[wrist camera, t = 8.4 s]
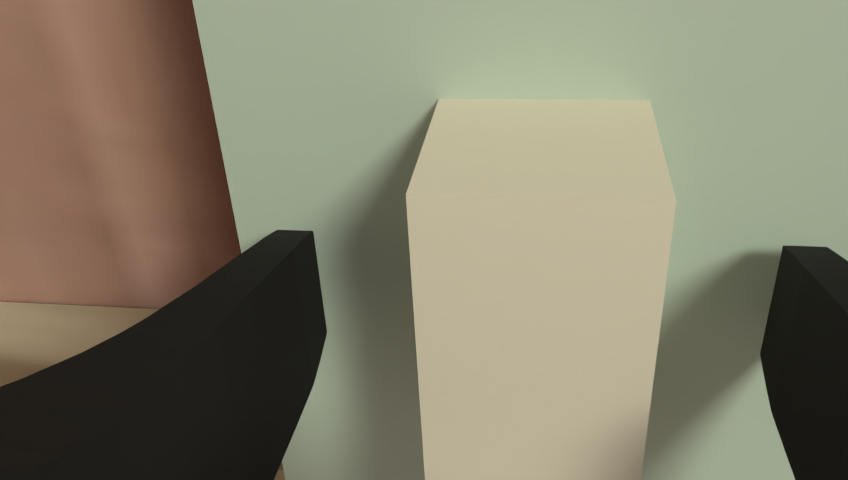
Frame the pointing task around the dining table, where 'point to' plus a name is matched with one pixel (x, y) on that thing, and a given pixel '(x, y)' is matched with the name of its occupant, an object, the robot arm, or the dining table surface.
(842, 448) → the robot arm
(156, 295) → the dining table surface
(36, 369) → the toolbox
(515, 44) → the lid
